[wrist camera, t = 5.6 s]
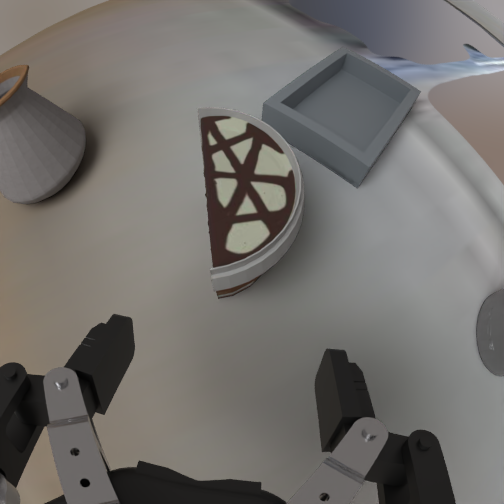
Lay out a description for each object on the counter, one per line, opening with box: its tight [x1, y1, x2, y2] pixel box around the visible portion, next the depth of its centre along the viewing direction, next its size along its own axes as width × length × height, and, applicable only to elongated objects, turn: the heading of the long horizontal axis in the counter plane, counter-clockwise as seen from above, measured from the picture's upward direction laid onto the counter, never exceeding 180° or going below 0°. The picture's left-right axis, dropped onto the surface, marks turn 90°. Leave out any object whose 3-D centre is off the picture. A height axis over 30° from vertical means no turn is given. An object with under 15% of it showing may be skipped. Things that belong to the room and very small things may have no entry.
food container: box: [198, 107, 304, 299], centre depth 22 cm, size 12×6×10 cm, turn 8°
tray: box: [262, 47, 421, 188], centre depth 32 cm, size 12×18×4 cm, turn 142°
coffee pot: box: [0, 65, 86, 204], centre depth 23 cm, size 21×12×15 cm, turn 45°
